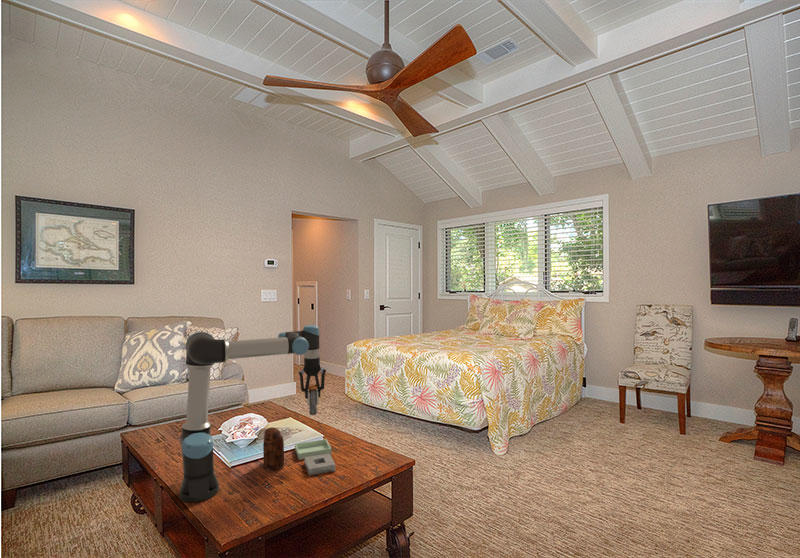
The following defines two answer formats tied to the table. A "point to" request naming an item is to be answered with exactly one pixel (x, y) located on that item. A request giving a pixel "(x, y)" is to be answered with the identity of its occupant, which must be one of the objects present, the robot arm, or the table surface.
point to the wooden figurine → (273, 449)
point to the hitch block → (319, 464)
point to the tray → (312, 448)
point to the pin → (313, 399)
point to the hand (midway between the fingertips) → (312, 404)
